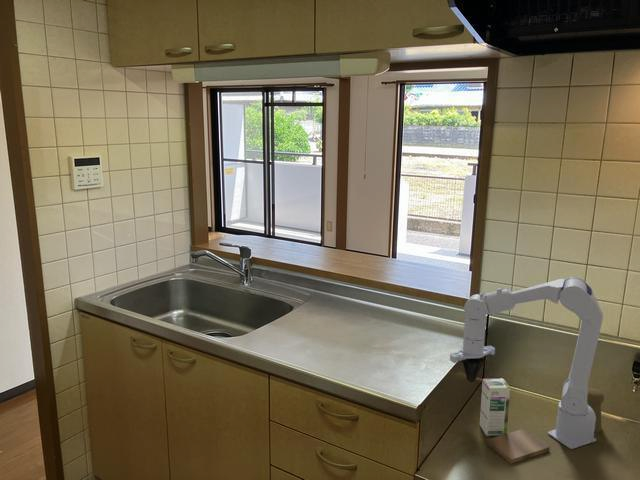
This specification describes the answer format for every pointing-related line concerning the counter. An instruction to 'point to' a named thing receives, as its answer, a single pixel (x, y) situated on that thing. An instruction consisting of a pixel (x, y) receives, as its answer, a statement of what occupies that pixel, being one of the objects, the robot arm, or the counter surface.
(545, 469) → the counter surface
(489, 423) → the syrup box
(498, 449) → the walnut board
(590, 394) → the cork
